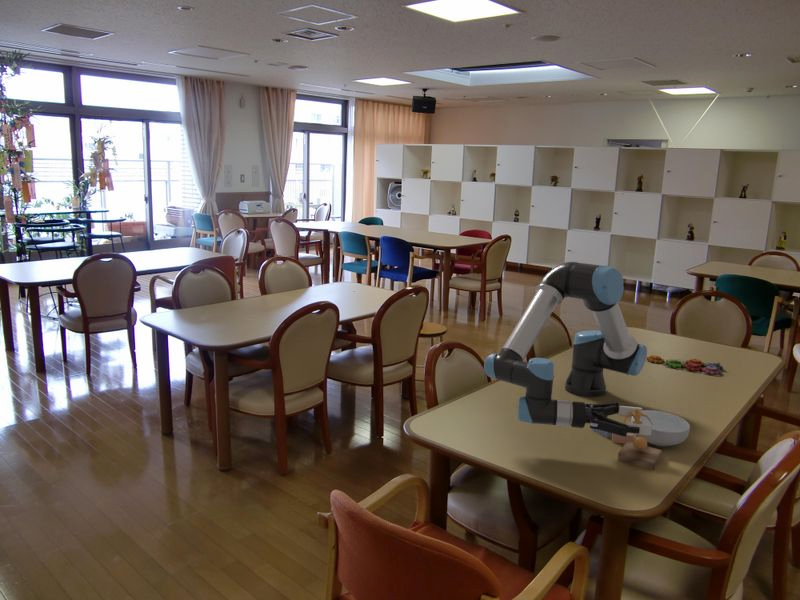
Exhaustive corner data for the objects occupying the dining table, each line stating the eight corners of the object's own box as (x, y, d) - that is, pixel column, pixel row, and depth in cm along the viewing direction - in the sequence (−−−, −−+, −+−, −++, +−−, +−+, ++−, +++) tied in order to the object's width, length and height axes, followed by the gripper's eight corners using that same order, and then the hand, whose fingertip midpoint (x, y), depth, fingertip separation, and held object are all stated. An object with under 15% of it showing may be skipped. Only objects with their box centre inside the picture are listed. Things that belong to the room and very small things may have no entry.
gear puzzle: (642, 364, 279) (643, 355, 278) (649, 356, 292) (650, 347, 291) (720, 378, 263) (721, 369, 262) (723, 369, 276) (725, 360, 275)
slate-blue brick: (592, 431, 203) (593, 422, 203) (599, 429, 205) (599, 421, 204) (606, 438, 198) (607, 429, 198) (613, 436, 200) (614, 427, 199)
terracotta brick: (612, 442, 195) (613, 433, 195) (611, 438, 198) (612, 429, 198) (632, 444, 194) (633, 435, 194) (631, 441, 197) (632, 432, 196)
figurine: (626, 450, 182) (623, 408, 184) (623, 449, 188) (620, 408, 190) (656, 450, 180) (653, 408, 182) (653, 449, 186) (650, 408, 188)
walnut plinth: (617, 462, 183) (618, 453, 182) (625, 450, 191) (626, 441, 191) (653, 472, 178) (654, 462, 177) (660, 459, 186) (661, 450, 185)
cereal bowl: (619, 439, 197) (622, 418, 196) (643, 426, 209) (645, 406, 207) (673, 458, 185) (676, 436, 184) (695, 442, 197) (698, 421, 196)
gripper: (566, 410, 198) (636, 417, 195) (573, 443, 174) (654, 451, 171) (568, 387, 197) (639, 394, 194) (576, 418, 173) (657, 425, 169)
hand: (646, 421), depth 182 cm, fingers open, 13 cm apart
